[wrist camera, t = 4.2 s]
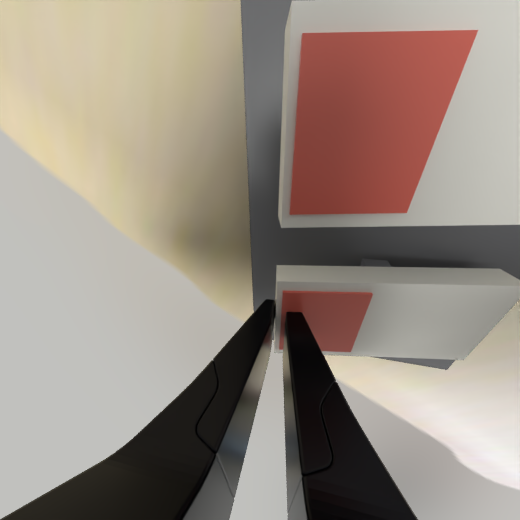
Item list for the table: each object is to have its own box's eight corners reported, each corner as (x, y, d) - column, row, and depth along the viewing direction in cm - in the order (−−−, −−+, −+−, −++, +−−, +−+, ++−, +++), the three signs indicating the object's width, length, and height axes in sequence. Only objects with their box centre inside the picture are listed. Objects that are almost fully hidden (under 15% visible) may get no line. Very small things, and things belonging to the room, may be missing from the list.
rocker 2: (499, 268, 7) (535, 288, 6) (445, 339, 9) (465, 362, 8) (276, 265, 7) (277, 283, 6) (273, 333, 9) (274, 355, 9)
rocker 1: (670, 23, 4) (797, -13, 3) (531, 212, 6) (581, 225, 5) (284, 30, 4) (292, -3, 3) (278, 215, 6) (281, 229, 5)
